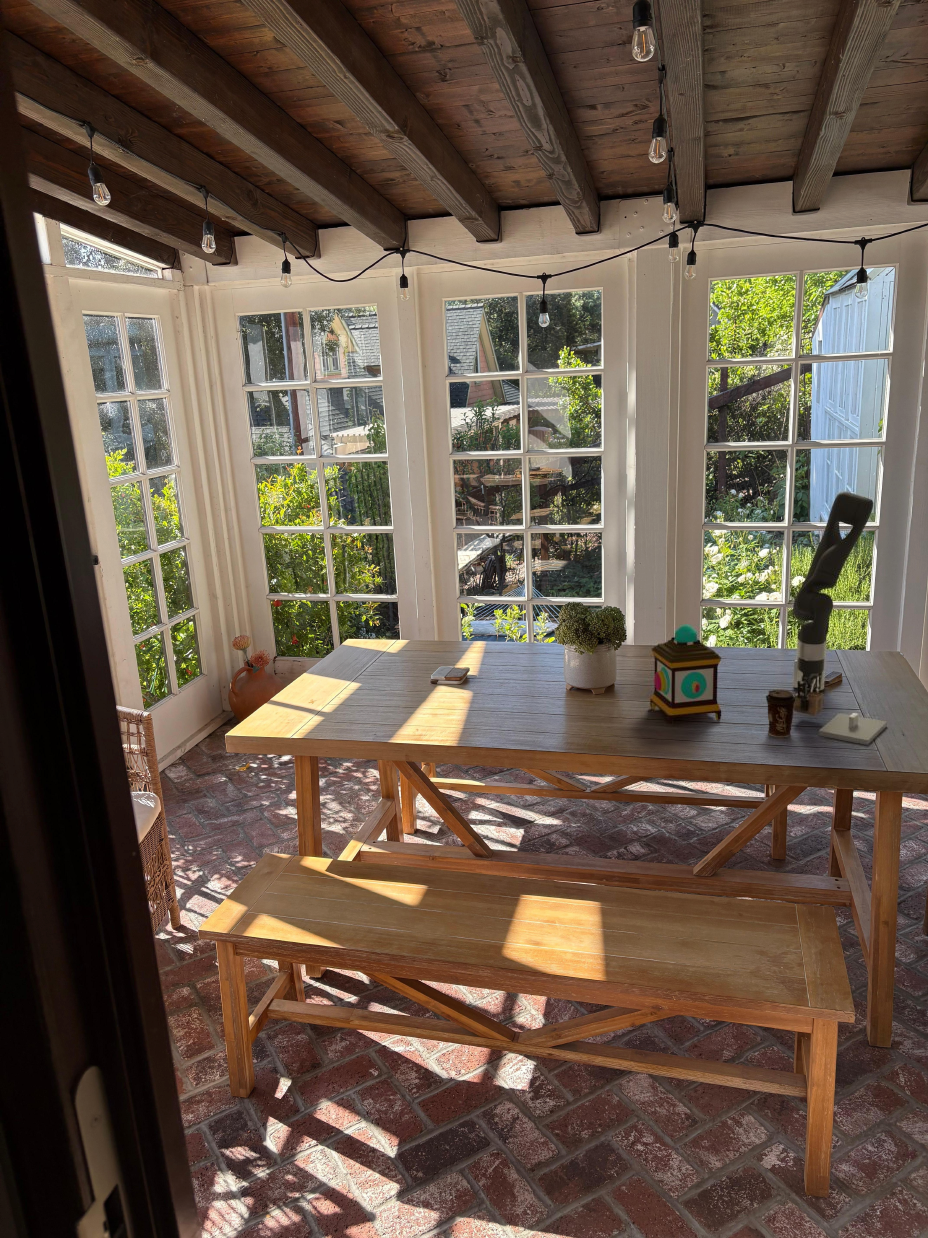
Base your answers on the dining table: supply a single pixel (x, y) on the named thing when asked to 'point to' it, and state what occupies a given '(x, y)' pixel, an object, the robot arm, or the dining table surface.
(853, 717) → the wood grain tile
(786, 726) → the coffee cup
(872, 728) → the base plate
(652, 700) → the decorative lantern
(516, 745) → the dining table surface
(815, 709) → the cardboard box
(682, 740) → the dining table surface
